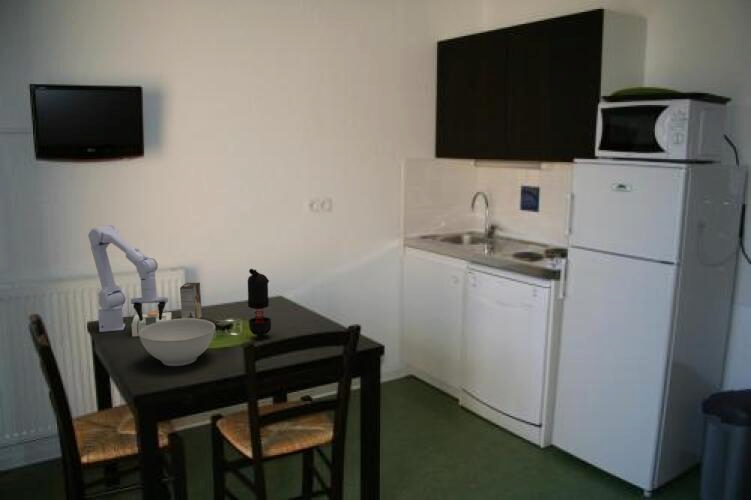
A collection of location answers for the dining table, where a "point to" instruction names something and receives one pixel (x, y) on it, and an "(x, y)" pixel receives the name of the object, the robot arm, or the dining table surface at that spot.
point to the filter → (258, 303)
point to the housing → (136, 318)
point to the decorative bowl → (177, 339)
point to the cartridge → (148, 322)
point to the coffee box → (191, 300)
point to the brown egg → (152, 313)
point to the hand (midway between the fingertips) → (150, 319)
